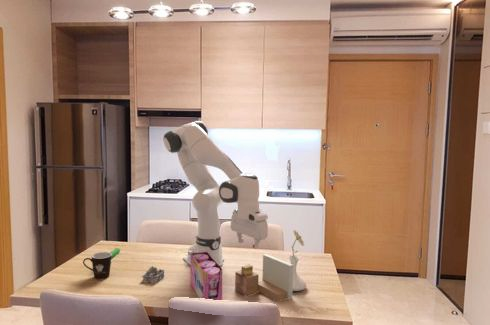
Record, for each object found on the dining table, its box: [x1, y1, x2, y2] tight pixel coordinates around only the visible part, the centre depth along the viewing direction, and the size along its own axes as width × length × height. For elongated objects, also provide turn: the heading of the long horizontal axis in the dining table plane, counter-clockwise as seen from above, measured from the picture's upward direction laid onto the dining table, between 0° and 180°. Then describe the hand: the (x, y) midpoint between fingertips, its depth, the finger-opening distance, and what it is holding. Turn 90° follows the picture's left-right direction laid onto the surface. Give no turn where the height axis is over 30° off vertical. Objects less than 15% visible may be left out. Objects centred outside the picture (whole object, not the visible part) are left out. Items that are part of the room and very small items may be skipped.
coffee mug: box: [82, 251, 113, 280], centre depth 169 cm, size 12×9×10 cm
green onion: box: [110, 247, 121, 262], centre depth 187 cm, size 5×3×30 cm
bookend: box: [258, 253, 293, 303], centre depth 156 cm, size 16×7×14 cm, turn 40°
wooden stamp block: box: [234, 264, 260, 297], centre depth 157 cm, size 8×6×11 cm
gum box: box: [190, 252, 223, 301], centre depth 154 cm, size 24×8×14 cm, turn 21°
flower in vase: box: [287, 229, 307, 292], centre depth 162 cm, size 13×11×25 cm
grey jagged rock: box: [141, 265, 166, 284], centre depth 168 cm, size 11×8×4 cm
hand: (248, 245), depth 156 cm, fingers open, 8 cm apart
